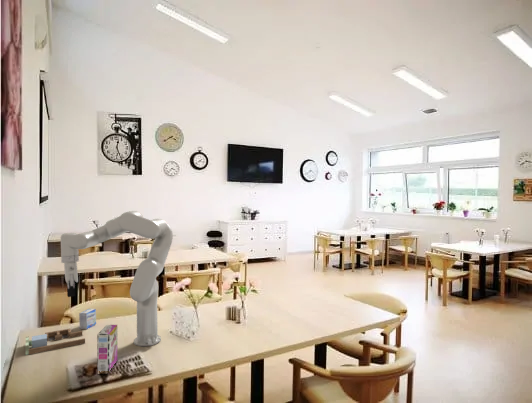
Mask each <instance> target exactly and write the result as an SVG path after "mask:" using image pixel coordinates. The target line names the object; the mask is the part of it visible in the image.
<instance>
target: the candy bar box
mask: <svg viewBox="0 0 532 403" xmlns="http://www.w3.org/2000/svg"><path fill="white" fill-rule="evenodd" d="M96 340H97V342H96V343H97V345H96V346H97V348H96V351H97V353H96V354H97V355H96V356H97V359H96V360H97V361H96V362H97V363H96V364H97V368H96V369H97V371H100V372H101V371H110V370H111V368H112V367H113V365H114V364H115V363H116V361H117V362H118V324H106V325H105V326H104V327H103V328H102V329H101V330H100V331H99V332H98V333H97V337H96ZM116 364H117V363H116ZM113 368H114V367H113ZM111 371H112V370H111Z"/></svg>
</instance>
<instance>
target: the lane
mask: <svg viewBox="0 0 532 403" xmlns="http://www.w3.org/2000/svg"><path fill="white" fill-rule="evenodd" d="M44 334H47V342H50V341H61V340H63V339H65V338H66V339H67V338H76V337H83V331H82V330H79V331H73V332H72V329H71V328H64V329H60V330H55V331H48V332H45V333H44ZM82 344H86V338H78V339H73V340H69V341H68V340H67V341H63V342H59V343H53V344H47V346H42V347H37V348H32V347H31V348H30V346H32V339H30V337H29V336H25V356H27V355H32V354H39V353H43V352H48V351H52V350H54V351H55V350H58V349H63V348H68V347H73V346H77V345H78V346H79V345H82Z"/></svg>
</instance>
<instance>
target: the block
mask: <svg viewBox="0 0 532 403" xmlns="http://www.w3.org/2000/svg"><path fill="white" fill-rule="evenodd" d="M31 340H32V345H31V349H32V348H37V347H42V346H47V345H48V341H47V334H45V333H44V334H43V333H42V334H38V335H33V336H31Z"/></svg>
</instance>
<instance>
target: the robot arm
mask: <svg viewBox="0 0 532 403" xmlns="http://www.w3.org/2000/svg"><path fill="white" fill-rule="evenodd" d="M128 232H129V233H132V234H135V235H136V236H140V237H142V238H145V239H154V240H153V242H152V244H151V247H150V251H149V252H148V256H147V258H145V259H144V260H142V261H141V262H140V263H139V265H138V266H137V269H136V270H135V273H134V277H133V280H132V282H131V285H130V287H129V288H130V289H129V296H130V298H131V299H132V301H134V302H136V337H135V338H134V339H133V344H134V345H135V346H138V347H151V346H154V345H156V344H159V343H160V342H161V341H162V337H161V336H160V335H159V334H158V296H159V283H158V280H157V277H158V276H159V275H160V274H161V273H162V272H163V270H164V267H165V264H166V261H167V260H168V256H169V252H170V250H171V246H172V243H173V238H174V237H173V236H174V235H173V230H172V227H171V225H170V224H169V223H168V222H167V221H166V220H164V219H162V218H154V219H153V218H152V219H149V218H145V217H143V215H142V213H140V211H137V210H131V211H125V212H123V213H121V214H120V216H117V217H115V218H113V219H109V220H107V221H106V222H105V224H104V225H102V226H101V225H100V226H99V227H97V228H94V229H92V230H89V231H85V232H80V233H77V232H67V233H62V234H61V235H60V260H61V262H60V263H61V264H63V265H64V266H63V267H64V279H65V282H66V285H67V288H66V289H67V290H66V291H67V292H66V293H67V298H72V297H75V296H76V287H75V282H76V283H78V282H79V277H78V276H79V274H78V262H79V261H80V256H79V254H80V252H79V250H85V249H88V248H91V247H95V246H97V245H100V244H101V243H102V244H103V242H106V241H109V240H111V239H115V238H117V237H119V236H122V235H123V234H125V233H128Z"/></svg>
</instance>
